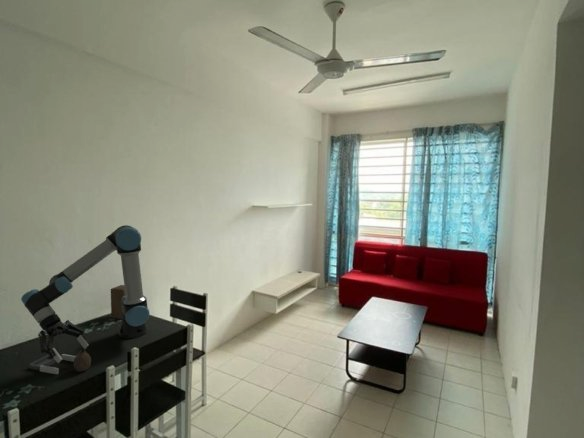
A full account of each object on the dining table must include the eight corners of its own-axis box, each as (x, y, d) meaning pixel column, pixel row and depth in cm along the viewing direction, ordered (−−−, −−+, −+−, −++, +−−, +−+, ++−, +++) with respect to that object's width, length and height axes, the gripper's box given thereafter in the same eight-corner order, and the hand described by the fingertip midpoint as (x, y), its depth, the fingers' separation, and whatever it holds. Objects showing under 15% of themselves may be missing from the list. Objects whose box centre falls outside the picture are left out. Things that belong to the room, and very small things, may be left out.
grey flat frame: (28, 368, 148) (28, 364, 148) (51, 357, 159) (50, 353, 159) (40, 370, 147) (40, 366, 147) (62, 359, 157) (62, 355, 157)
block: (123, 319, 208) (123, 289, 207) (110, 318, 210) (109, 288, 209) (134, 314, 218) (133, 285, 216) (121, 312, 220) (120, 284, 218)
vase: (88, 364, 153) (87, 346, 153) (93, 369, 149) (93, 351, 148) (71, 370, 148) (70, 351, 147) (76, 375, 144) (76, 356, 143)
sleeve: (39, 371, 146) (39, 366, 146) (63, 358, 158) (63, 354, 157) (57, 374, 144) (57, 369, 144) (79, 361, 155) (79, 356, 155)
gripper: (67, 314, 163) (92, 346, 160) (14, 334, 139) (42, 372, 136) (75, 305, 161) (100, 337, 159) (23, 324, 137) (52, 362, 134)
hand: (74, 353), depth 147 cm, fingers open, 13 cm apart
